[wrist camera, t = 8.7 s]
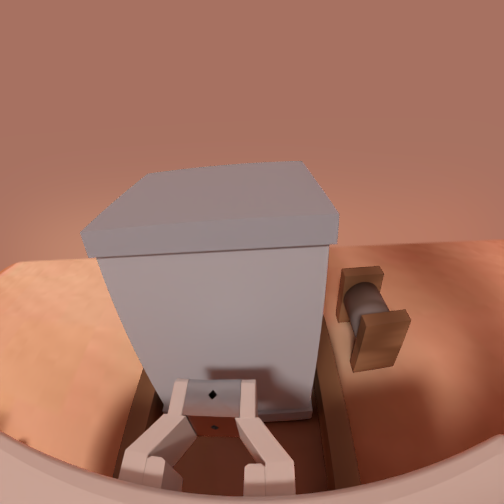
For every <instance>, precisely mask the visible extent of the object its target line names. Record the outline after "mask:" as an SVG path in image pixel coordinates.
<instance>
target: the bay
mask: <svg viewBox="0 0 504 504" xmlns="http://www.w3.org/2000/svg"><path fill="white" fill-rule="evenodd" d="M383 276H384V273H383V271H382V270H381V268H380V266H373V267H359V268H345V269H342V272H341V280H340V288H339V295H338V302H337V309H336V317H337V320H338V323H340V322H351V325H352V328H353V331H354V334H355V337H356V341H355V345H354V349H353V352H352V356H351V360H350V363H351V367H352V370H353V373H354V372H361V371H367V370H373V369H379V368H385V367H390V366H393V365H394V363H395V360H396V358H397V356H398V353H399V351H400V348H401V346H402V343H403V341H404V338H405V336H406V333H407V330H408V328H409V325H410V322H411V319H410V317H409V315H408V313H407V311H406V310H405V309H404V310H397V311H389V309H388V307H387V305H386V304H385V302H384V300H383V298H382V296H381V294H380V289H381V285H382V280H383ZM313 385H314V391H315V398H316V404H317V411H318V418H319V424H320V431H321V439H322V446H323V453H324V461H325V469H326V477H327V486H328V491H331V490H337V489H343V488H348V487H354V486H359V485H361V481H360V475H359V470H358V464H357V459H356V453H355V448H354V443H353V438H352V433H351V428H350V423H349V419H348V414H347V409H346V405H345V400H344V396H343V391H342V387H341V383H340V379H339V374H338V370H337V366H336V362H335V358H334V354H333V350H332V346H331V342H330V338H329V334H328V330H327V327H326V323H325V319H324V315H323V317H322V326H321V334H320V341H319V348H318V355H317V362H316V369H315V375H314V381H313ZM163 407H164V404H163V402H162V401H161V399H160V397H159V395H158V394H157V392H156V390H155V388H154V386H153V385H152V383H151V381H150V379H149V377H148V375H147V374H146V372H145V370H144V368H143V371H142V374H141V377H140V380H139V383H138V386H137V390H136V393H135V396H134V400H133V403H132V406H131V410H130V413H129V417H128V420H127V424H126V427H125V431H124V435H123V438H122V442H121V446H120V450H119V454H118V458H117V462H116V466H115V470H114V474H113V478H116V479H118V478H119V473H120V469H121V465H122V461H123V457H124V453H125V450H126V449H127V448H128V447H129V446H130V445H131V444H132V443H133V442H135V441H136V440H137V439H138V438H139V437H140V436H141V435H142V434H143V433H144V432H145V431H146V430H147V429H148V428H150V427H151V426H152V425H153V424H154V423H155V422H156V421H157V420H158V419H159V418H160V417H161V416H162V415H163Z"/></svg>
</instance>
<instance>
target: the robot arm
mask: <svg viewBox="0 0 504 504" xmlns="http://www.w3.org/2000/svg"><path fill="white" fill-rule="evenodd" d="M197 436H208V437H234V438H240V439H241V440H242V442H243V443H244V445H245V446H246V448H247V450H248V451H249V453H250V454H251V456H252V457H253V459H254V460H255V462H256V463H257V464H248V465H246V466H245V471H244V492H243V496H220V495H206V494H196V493H187V492H182V485H183V478H182V476H181V475H180V474H179V473H177V472H176V471H175V470H174V469H173V468H172V467H173V466H174V465H175V464H176V463H177V462H178V460H179V459H180V458H181V457H182V456H183V454H184V453H185V452H186V451H187V449H188V448H189V447H190V446H191V444H192V443H193V442H194V441H195V440H196V438H197ZM0 504H504V435H503V434H498V435H495V436H493V437H491V438H489V439H487V440H485V441H483V442H481V443H479V444H477V445H475V446H473V447H471V448H469V449H467V450H465V451H463V452H461V453H458V454H456V455H454V456H451V457H449V458H447V459H444V460H442V461H439V462H437V463H434V464H431V465H429V466H426V467H423V468H420V469H417V470H414V471H411V472H408V473H405V474H402V475H398V476H395V477H391V478H388V479H384V480H380V481H376V482H372V483H368V484H363V485H359V486H354V487H348V488H343V489H337V490H331V491H324V492H316V493H308V494H297V495H296V490H295V473H294V461H293V460H292V459H291V457H290V456H289V455H288V454H287V452H286V451H285V450H284V449H283V447H282V446H281V445H280V444H279V442H278V441H277V440H276V439H275V437H274V436H273V435H272V433H271V432H270V431H269V429H268V428H267V427H266V426H265V424H264V423H263V422H262V420H261V419H260V418H259V417H258V397H257V386H256V379H248V380H242V379H233V380H200V379H181V378H177V379H176V381H175V383H174V387H173V392H172V396H171V400H170V405H169V410H168V414H163V415H162V416H161V417H160V418H159V419H158V420H157V421H156V422H155V423H154V424H153V425H152V426H151V427H150V428H148V429H147V430H146V431H145V432H144V433H143V434H142V435H141V436H140V437H139V438H138V439H137V440H136V441H135V442H133V443H132V444H131V445H130V446H129V447H128V448H127V449H126V450H125V453H124V457H123V461H122V465H121V469H120V473H119V478H118V479H116V478H112V477H108V476H105V475H102V474H98V473H95V472H92V471H89V470H86V469H83V468H80V467H77V466H75V465H72V464H69V463H67V462H64V461H62V460H59V459H57V458H54V457H52V456H50V455H47V454H45V453H43V452H41V451H38V450H36V449H34V448H32V447H30V446H28V445H26V444H24V443H22V442H20V441H18V440H16V439H14V438H13V437H11V436H9V435H7V434H5V433H4V432H2V431H0Z"/></svg>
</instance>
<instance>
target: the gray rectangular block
mask: <svg viewBox="0 0 504 504" xmlns="http://www.w3.org/2000/svg"><path fill="white" fill-rule="evenodd" d="M338 226H339V213H338V211H337V210H336V209H335V207H334V206H333V204H332V203H331V201H330V200H329V198H328V197H327V196H326V194H325V193H324V191H323V190H322V188H321V187H320V186H319V184H318V183H317V181H316V180H315V179H314V177H313V176H312V175H311V173H310V172H309V170H308V169H307V168H306V166H305V165H304V164H303V162H302V161H290V162H289V161H288V162H264V163H248V164H233V165H221V166H209V167H199V168H190V169H181V170H172V171H165V172H157V173H150V174H147V175H146V176H144V177H143V178H142V179H141V180H140V181H138V182H137V183H136V184H135V185H133V186H132V187H131V188H130V189H128V190H127V191H126V192H125V193H124V194H122V195H121V196H120V197H119V198H118V199H116V201H114V202H113V203H112V204H111V205H110V206H108V207H107V208H106V209H105V210H104V211H103V212H102V213H101V214H99V215H98V216H97V217H96V218H95V219H94V220H93V221H92V222H91V223H90V224H89V225H88V226H86V227H85V228H84V229H83V230H82V231H81V232H80V234H81V237H82V240H83V243H84V246H85V249H86V252H87V255H88V258H94V257H96V258H97V261H98V264H99V267H100V270H101V272H102V275H103V278H104V280H105V283H106V286H107V288H108V291H109V293H110V296H111V298H112V301H113V303H114V306H115V308H116V310H117V313H118V315H119V317H120V320H121V322H122V324H123V327H124V329H125V331H126V333H127V335H128V337H129V340H130V342H131V344H132V346H133V348H134V350H135V352H136V354H137V356H138V358H139V360H140V362H141V364H142V366H143V368H144V370H145V372H146V374H147V375H148V377H149V379H150V381H151V383H152V385H153V386H154V388H155V390H156V392H157V394H158V395H159V397H160V399H161V401H162V402H163V404H164V407H163V413H164V414H168V410H169V405H170V400H171V396H172V392H173V387H174V383H175V381H176V379H177V378H181V379H200V380H233V379H242V380H248V379H256V386H257V397H258V417H259V418H260V419H261V420H262V422H271V421H288V420H300V419H311V417H312V412H313V408H312V401H311V393H312V387H313V381H314V375H315V369H316V362H317V355H318V348H319V341H320V334H321V326H322V317H323V309H324V300H325V290H326V279H327V268H328V256H329V244H337V239H338Z"/></svg>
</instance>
